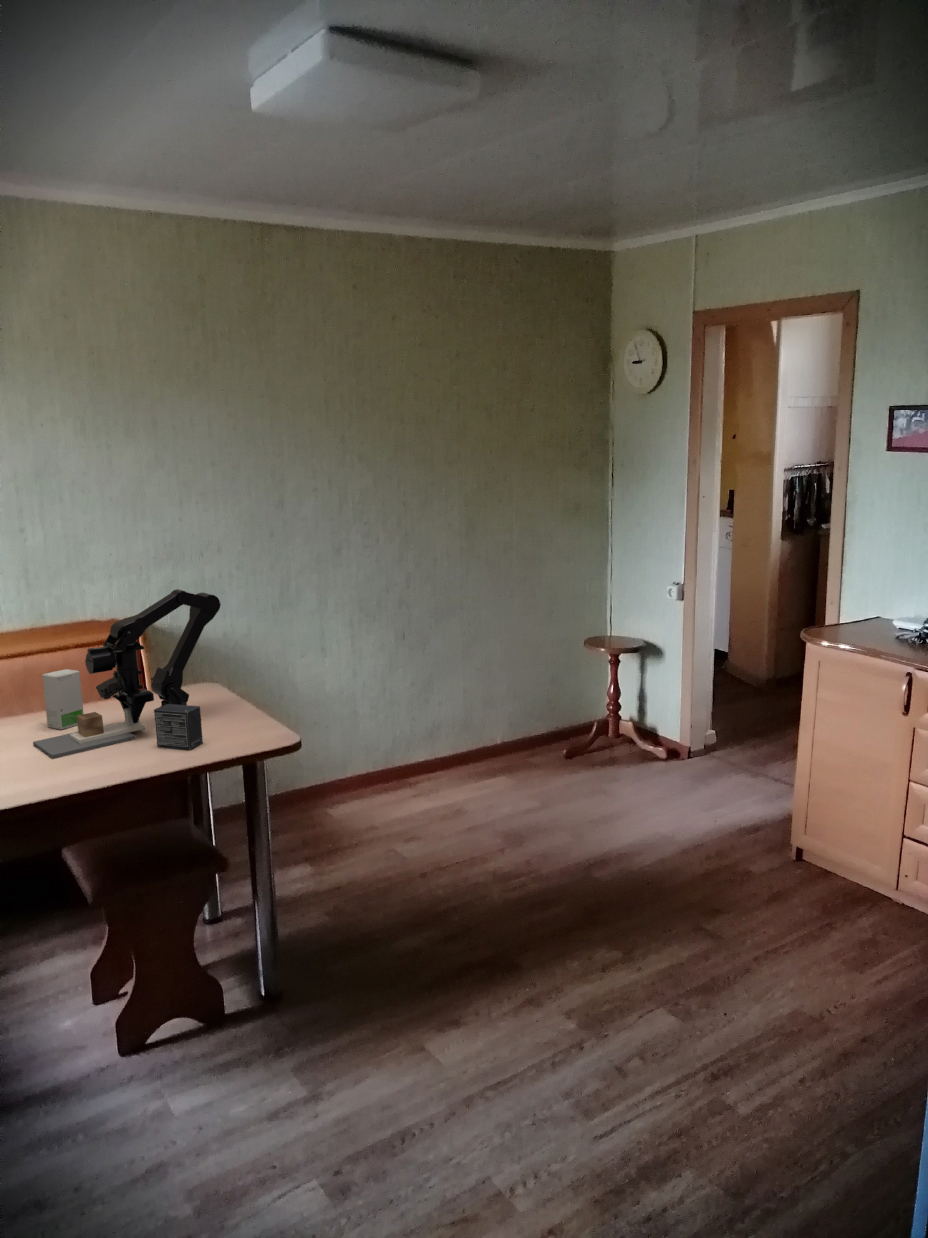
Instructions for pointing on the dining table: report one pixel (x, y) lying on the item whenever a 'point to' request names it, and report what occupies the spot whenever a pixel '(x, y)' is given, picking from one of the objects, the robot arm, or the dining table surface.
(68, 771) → the dining table surface
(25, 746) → the dining table surface
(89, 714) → the walnut block
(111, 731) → the off-white strip
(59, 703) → the skincare box
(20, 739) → the dining table surface
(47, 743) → the charcoal board
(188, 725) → the small box
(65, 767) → the dining table surface
